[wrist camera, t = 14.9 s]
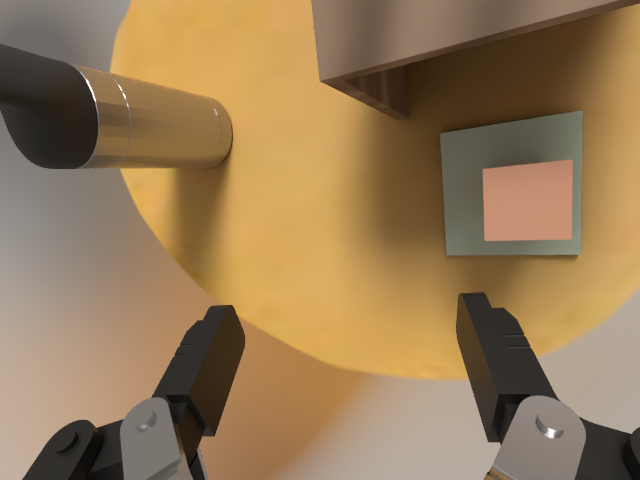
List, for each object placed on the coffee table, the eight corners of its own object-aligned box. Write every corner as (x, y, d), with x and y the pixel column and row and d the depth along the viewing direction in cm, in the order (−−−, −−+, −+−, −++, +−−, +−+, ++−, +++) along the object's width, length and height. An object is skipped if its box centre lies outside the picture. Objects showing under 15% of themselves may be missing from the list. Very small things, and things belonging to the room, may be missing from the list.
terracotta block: (486, 216, 32) (484, 241, 22) (485, 168, 31) (482, 168, 21) (543, 213, 30) (571, 239, 19) (543, 162, 29) (572, 159, 19)
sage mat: (447, 254, 35) (446, 255, 34) (440, 133, 33) (439, 133, 32) (579, 253, 30) (581, 254, 29) (581, 111, 28) (582, 110, 27)
